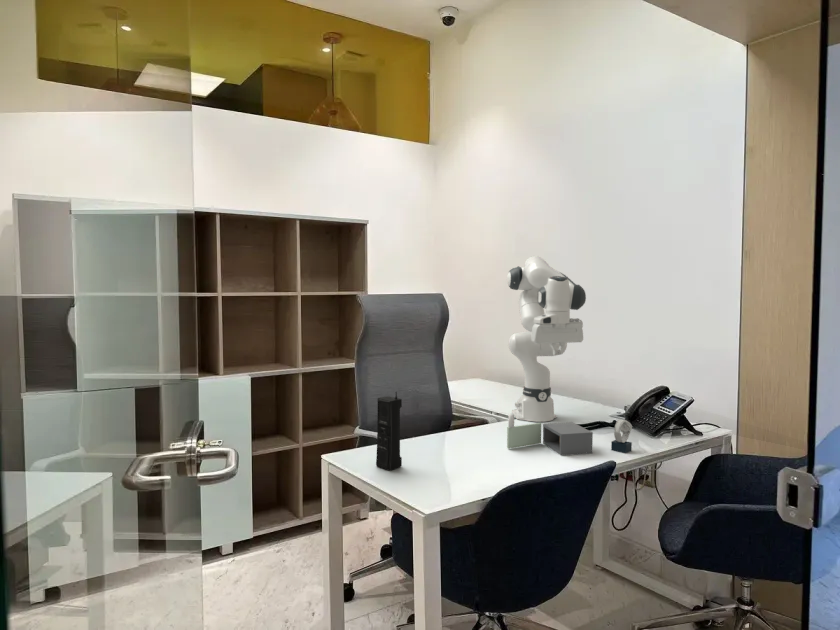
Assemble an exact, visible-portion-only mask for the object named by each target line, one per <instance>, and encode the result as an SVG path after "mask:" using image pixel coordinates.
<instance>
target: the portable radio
mask: <svg viewBox="0 0 840 630" xmlns="http://www.w3.org/2000/svg"><path fill="white" fill-rule="evenodd" d="M397 394H398V393H397V392H395V397H393V396H389V395H388V396H381V397H377V426H376V427H377V428H376V429H377V431H376V432H377V435H376V458H375V459H376V462H375V465H376V467H379V468H380V469H384V470H386V471H390V472H391V471H394V470H396V469H397V470H398V469H399V468H401V467H402V463H403V462H402V459H403V458H402V456H401V408H403V406H402V405H403V402H402V401H403V400H402V398H398V396H397Z"/></svg>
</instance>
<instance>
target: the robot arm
mask: <svg viewBox="0 0 840 630" xmlns="http://www.w3.org/2000/svg"><path fill="white" fill-rule="evenodd" d="M506 281H507V284H508V287H509V288H510V289H511V290H513V291H514V290H515V291H518V290H520V291H521V293H520V294H519V298H518V309H519V316H520V322H521V325H522V327H523V328H524V330H526V331H520V332H514V333H513V334H511V335H510V337H509V339H508V345H507V346H508V349H509V351H510V353H512V354H513V355H514V356H515V357H516V358H517V359H518V360H519V361H520V363H521V365H522V368H523V374H524V375H523V376H524V386H523V388H522V395H521V396H520V397H519V398H518V399H517V401H516V402H515V403H514V407H515V409H512V410H511V414H514V418H516V420H519V421H520V420H521V421H528V422H534V423H535V422H536V423H542V422H543V423H546V422H551V421H553V420H554V419H556V418H558V416H557V414H555V406H554V404H555V403H554V399H553V398H552V397H551V396H552V388H551V371H550V369H549V367H548V366H546V365H544V364H542V363H541V362H539V361H538V359H537V357H556V356H560V355H563V354H565V351H566V350H567V347H568V344H570V343H573V344H574V343H582V342H583V340H584V331H583V330H584V329H583V327H584V324H583V321H582V319H580V318H571V316H570V313H571V312H570V311H571V310H573V311H575V310H576V311H578V310H580V309H581V308H582V307H583V306H584V305H585V304H586V299H587V295H586V291H585V289H584V288H583V286H581V285H580V284H577V283H575V282H574V281H572V279H571V278H569V277H568V276H567V275H566V274H564V273H563V272H560V271H558V270H557V269H554V268H553V267H551V266H550V265H549V263H548V262H547V261H546V259H544V258H542V257H541V256H539V255H533V256H530V257H528V258H527V259H526V260H525V262H524V266H517V267H512V268H510V270H509V271H508V273H507V277H506Z"/></svg>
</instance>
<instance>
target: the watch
mask: <svg viewBox="0 0 840 630" xmlns="http://www.w3.org/2000/svg"><path fill="white" fill-rule="evenodd" d="M632 429H633V426H632V424H631V422H630V421H628V420H626V419H618V420H617V421H616V422H615V425H614V429H613V430H614V432H613V435H614V440H612V441H611V445H610V446H611V449H610V451H614V452H617V453H623V454H628V453H630V452H632V449H633V448H632V443H633V442H632V441H628V440H629V437H630V434H631V432H632Z"/></svg>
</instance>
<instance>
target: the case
mask: <svg viewBox="0 0 840 630" xmlns="http://www.w3.org/2000/svg"><path fill="white" fill-rule="evenodd" d="M593 434H594V433H593V431H591V430H589V429H588V428H587V429H586V428H585V427H583V426H581V425H579V424H577V423H575V422H573V421H569V422H568V421H567V422H552V423H551V422H550V423H548V422H547V423H542V444H543V445H544V446H546V447H547V448H549V449H551V451H554V452H555V453H557V455H559V456H572V455H586V454H587V455H589V454H593V443H594V441H593V440H594V439H593Z"/></svg>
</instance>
